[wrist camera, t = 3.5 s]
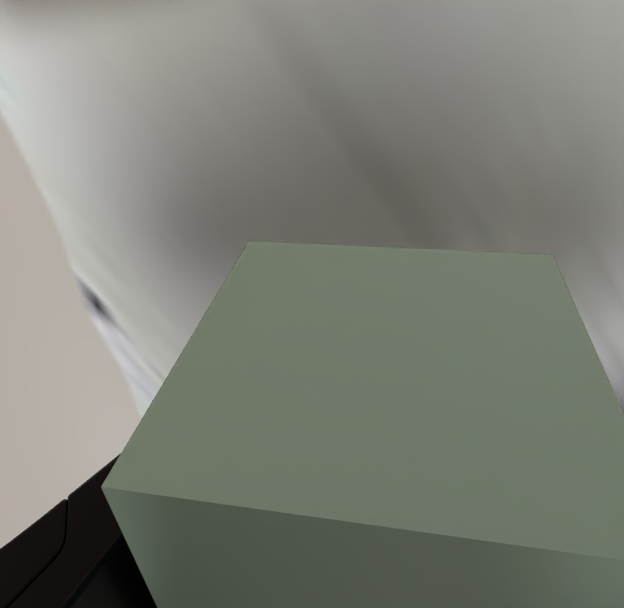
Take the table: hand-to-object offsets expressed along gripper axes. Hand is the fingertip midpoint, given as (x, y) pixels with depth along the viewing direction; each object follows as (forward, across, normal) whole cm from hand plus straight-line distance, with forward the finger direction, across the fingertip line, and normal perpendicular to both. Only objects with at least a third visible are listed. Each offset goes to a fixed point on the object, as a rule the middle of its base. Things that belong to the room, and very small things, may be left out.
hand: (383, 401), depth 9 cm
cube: (+1, 0, 0) cm, 1 cm away
